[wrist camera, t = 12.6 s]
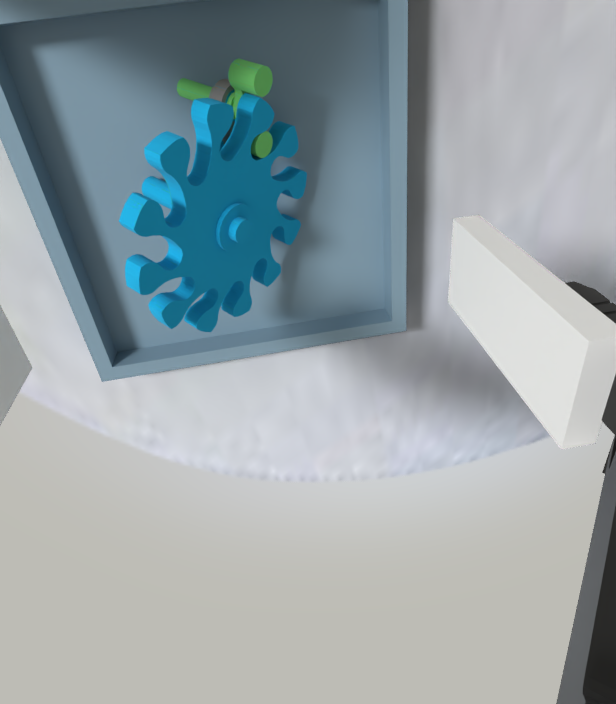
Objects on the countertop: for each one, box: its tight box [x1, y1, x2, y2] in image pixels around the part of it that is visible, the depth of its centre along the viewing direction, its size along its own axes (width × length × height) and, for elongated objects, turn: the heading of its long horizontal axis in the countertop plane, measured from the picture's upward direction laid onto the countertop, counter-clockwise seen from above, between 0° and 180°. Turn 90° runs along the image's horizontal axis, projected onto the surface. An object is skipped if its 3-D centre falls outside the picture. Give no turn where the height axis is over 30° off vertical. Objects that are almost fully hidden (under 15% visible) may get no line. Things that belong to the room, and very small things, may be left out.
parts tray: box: [0, 0, 408, 382], centre depth 24 cm, size 17×17×2 cm
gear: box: [119, 59, 307, 332], centre depth 22 cm, size 11×6×10 cm
